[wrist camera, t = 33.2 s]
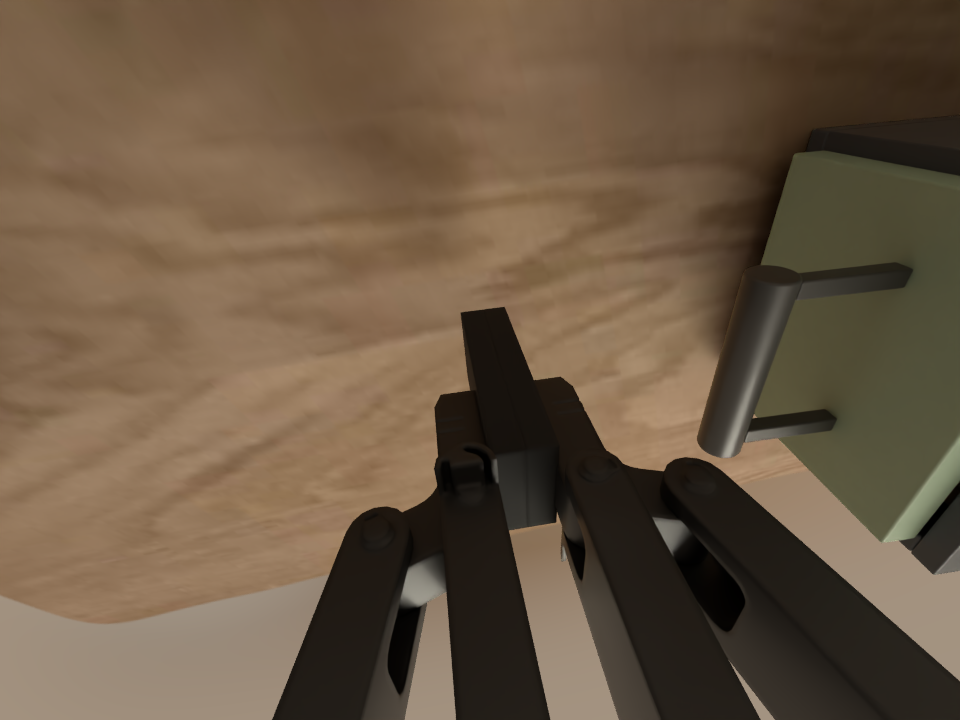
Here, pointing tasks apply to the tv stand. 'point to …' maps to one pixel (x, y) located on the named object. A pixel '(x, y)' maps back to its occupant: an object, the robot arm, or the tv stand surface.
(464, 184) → the tv stand surface
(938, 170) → the cabinet
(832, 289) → the drawer
